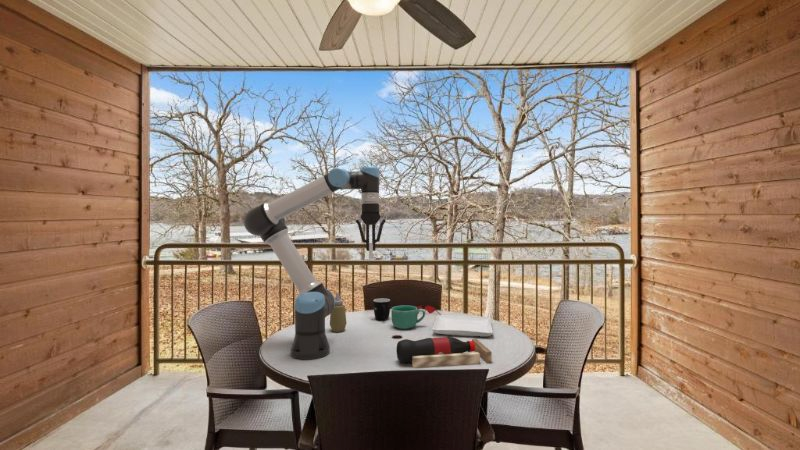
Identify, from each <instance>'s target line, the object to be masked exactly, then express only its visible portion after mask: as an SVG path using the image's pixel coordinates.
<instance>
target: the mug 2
mask: <svg viewBox="0 0 800 450" xmlns="http://www.w3.org/2000/svg"><path fill="white" fill-rule="evenodd" d="M415 306H416V305H415ZM415 306H414V305H408V304H407V305H404V304H403V305H402V304H401V305H396V306H393V307H391V308H390V312H391V313H390V314H391V322H392V323H391V324H392V325H393V326H394V327H396V328H397V329H399V330H409V329H411V328H413V327H415V326H416V325H417V324H419V323H420V322H421V321H423V320H424V318H425V317H426V311H425V309H423V308H422V309H419V310H417V307H415ZM421 311H422V312H421ZM420 312H421V313H422V316H421V317H420V318H418V316H419V313H420Z"/></svg>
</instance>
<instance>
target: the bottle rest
mask: <svg viewBox="0 0 800 450" xmlns="http://www.w3.org/2000/svg"><path fill="white" fill-rule="evenodd" d="M462 341H463V342H467V341H468V340H462ZM471 341H474V343H475V351H473V352H464V353H457V354H440V355H424V356H412V362H411V366H412V368H413V369H414V368H432V367H444V366H460V365H476V364H481V359H482V361H484V362H485V363H486V364H492V363H493V362H492V359H493V358H492V356H493V355H492V354H493V353H492V351H491V350H490V349H489V348H488V347H486V345H484V344H483V343H482V342H481V340H479V339H478V338H473V339H471Z"/></svg>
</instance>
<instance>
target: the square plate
mask: <svg viewBox="0 0 800 450" xmlns="http://www.w3.org/2000/svg"><path fill="white" fill-rule="evenodd" d="M431 330H432V331H433V332H434V333H435V334H437V335H438V334H439V335H442V336H443V335H444V336H455V335H458V337H474V336H480V337H481V338H482V337H488V338H489V337H490V336H491V335H493V334H494V330H493V327H492V318H491V317H490V316H489V317H488V316H477V315H476V316H474V315H453V314H452V315H451V314H449V315H446V314H444V315H443V314H441V315H440V314H437V315H436V317H435V321H434V323H433V325H432V328H431Z"/></svg>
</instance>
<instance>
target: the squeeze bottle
mask: <svg viewBox="0 0 800 450" xmlns="http://www.w3.org/2000/svg"><path fill="white" fill-rule="evenodd" d="M343 301H344V300H343V299H341V296H340V292H336V294H335V306H334V308H333V310H332V312H331V313H330V314H329V327H330V329H331V331H332V332H335V333H341V332H344V331H346V326H347V323H348V322H347V316H346V306H345V305H344V302H343Z"/></svg>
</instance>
